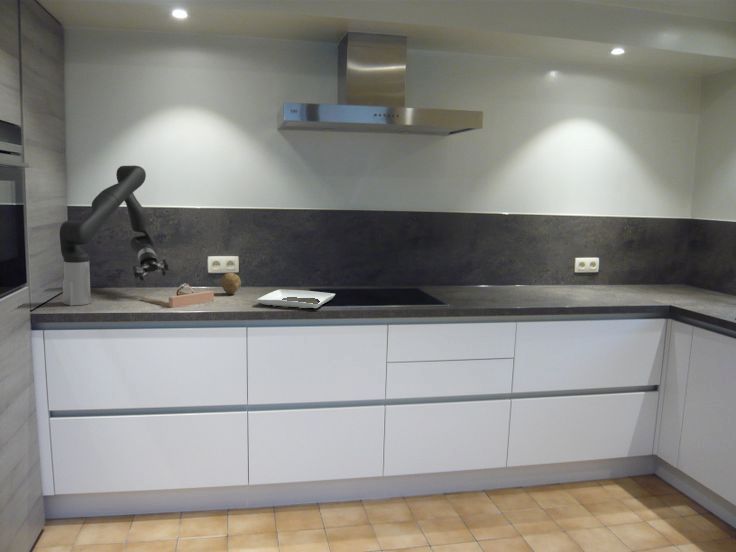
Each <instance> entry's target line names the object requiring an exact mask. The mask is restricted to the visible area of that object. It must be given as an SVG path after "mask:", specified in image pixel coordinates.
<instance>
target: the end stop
mask: <svg viewBox="0 0 736 552" xmlns="http://www.w3.org/2000/svg"><path fill="white" fill-rule="evenodd" d="M214 294H215V293H214V291H211V290H209V291H208V290H207V291H201V292H194V293H193V294H186V295H179V294H178V295H179V296H177V295H174V296H168V302H169V308H171V309H172V308H174V309H175V308H179V307H183V306H191V305H196V304H203V303H209V302H214V301H215V300H214V299H215V297H214Z"/></svg>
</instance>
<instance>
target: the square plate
mask: <svg viewBox="0 0 736 552" xmlns="http://www.w3.org/2000/svg"><path fill="white" fill-rule="evenodd" d="M335 296H336V293H331V292H323V291H322V292H320V291H311V290H302V289H301V290H298V289H277V290H274V291H272V292H269V293H266V294H264V295H263V296H260V297H259V298H256V301H258V302H259V303H260V304H262V305H266V306H270V305H274V306H273V307H275V306H291V307H306V308H314V309H317V308H319V307H321V306H322V305H323V304H325V303H327V302H329V301H331V300H332V299H333V298H334V297H335ZM287 297H297V298H315V299H318V300H319V301H320V302H319V303H318V304H313V303H306V302H298V301H287V300H282V299H283V298H287Z"/></svg>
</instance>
